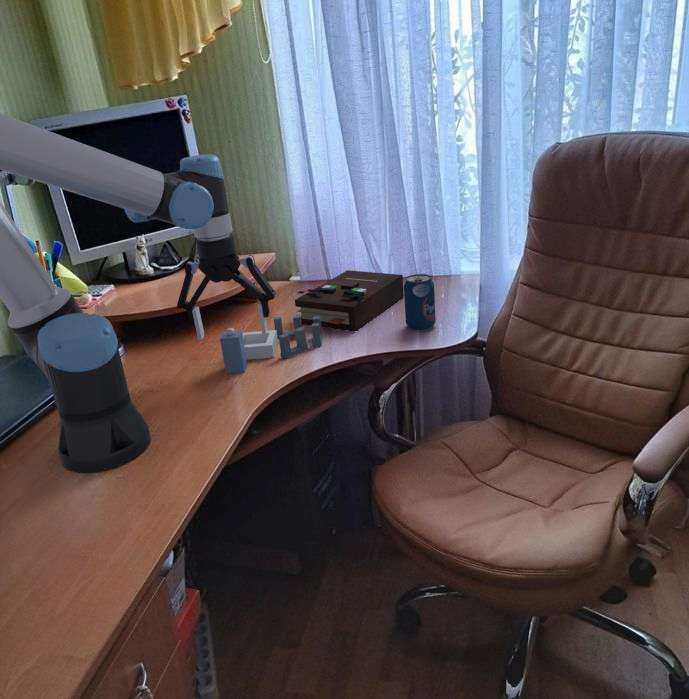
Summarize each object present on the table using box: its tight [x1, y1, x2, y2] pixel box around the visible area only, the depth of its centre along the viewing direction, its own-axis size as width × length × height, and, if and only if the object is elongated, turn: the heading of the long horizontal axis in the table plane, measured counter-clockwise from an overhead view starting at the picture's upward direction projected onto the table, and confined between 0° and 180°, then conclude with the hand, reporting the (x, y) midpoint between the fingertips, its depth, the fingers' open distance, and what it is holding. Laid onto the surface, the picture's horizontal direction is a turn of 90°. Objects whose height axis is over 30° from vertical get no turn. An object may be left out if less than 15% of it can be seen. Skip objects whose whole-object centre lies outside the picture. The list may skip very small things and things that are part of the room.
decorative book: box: [294, 269, 404, 332], centre depth 169 cm, size 19×8×30 cm
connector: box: [219, 327, 248, 375], centre depth 141 cm, size 4×4×9 cm
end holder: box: [242, 329, 279, 361], centre depth 150 cm, size 9×9×3 cm
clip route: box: [273, 314, 324, 360], centre depth 150 cm, size 11×14×5 cm
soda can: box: [403, 273, 437, 332], centre depth 153 cm, size 7×7×12 cm
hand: (233, 334), depth 140 cm, fingers open, 13 cm apart
